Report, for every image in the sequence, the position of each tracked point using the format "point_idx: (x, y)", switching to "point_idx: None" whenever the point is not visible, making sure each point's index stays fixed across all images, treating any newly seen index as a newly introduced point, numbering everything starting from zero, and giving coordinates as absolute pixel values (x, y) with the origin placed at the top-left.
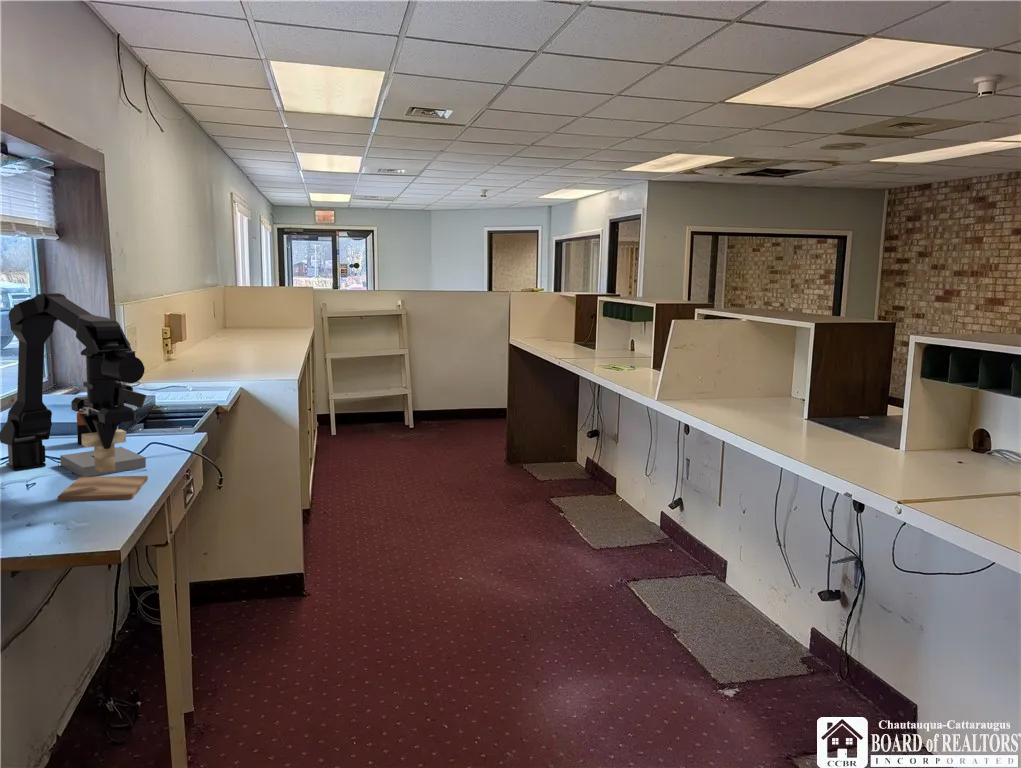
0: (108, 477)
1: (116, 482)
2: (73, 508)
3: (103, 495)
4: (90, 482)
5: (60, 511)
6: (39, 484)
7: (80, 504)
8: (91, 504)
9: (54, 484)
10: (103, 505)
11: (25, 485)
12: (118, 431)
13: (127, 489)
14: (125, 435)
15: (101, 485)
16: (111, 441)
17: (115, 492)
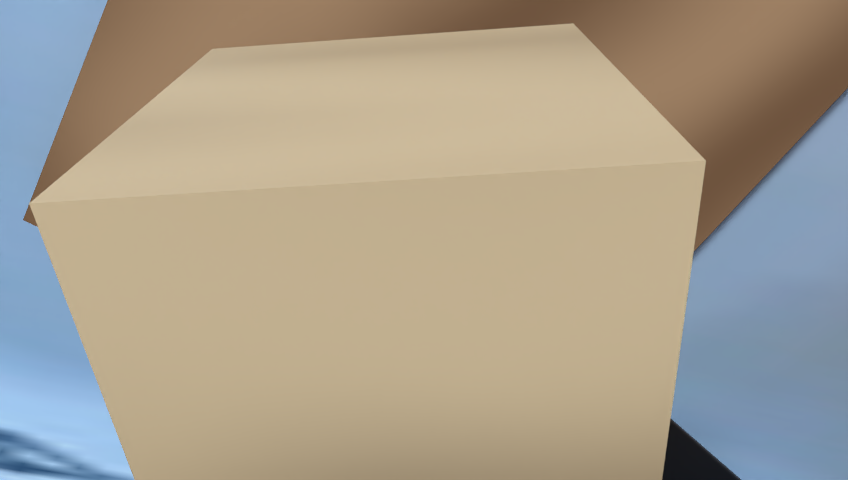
0: (153, 16)
1: (392, 11)
2: (731, 400)
3: (712, 227)
4: None
5: (727, 459)
6: (25, 419)
7: (681, 351)
8: (740, 303)
9: (65, 355)
10: (833, 251)
11: (19, 476)
12: (528, 430)
13: (715, 7)
14: (632, 101)
15: None
16: (715, 474)
17: (717, 130)
